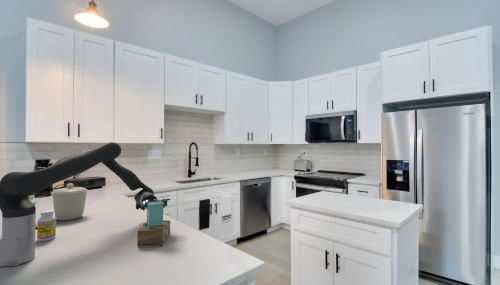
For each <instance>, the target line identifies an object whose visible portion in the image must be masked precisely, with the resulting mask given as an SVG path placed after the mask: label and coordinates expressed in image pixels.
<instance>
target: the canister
mask: <svg viewBox="0 0 500 285" xmlns="http://www.w3.org/2000/svg"><path fill="white" fill-rule="evenodd" d="M88 191H89V189H87V188H85V187H83V186H82V187H81V186H75V185H74V183H71V182H70V183H67V184H66V187H62V188H57V189H55V190H53V191H51V192H50V194H51V195H52V203H53V204H52V205H53V211H54V216H55V217H56V221H57V220H58V221H71V220H72V221H73V220H76V219H78V218H79V219H80V218H81V217H83V215H84V212H85V206H86V199H87V192H88Z"/></svg>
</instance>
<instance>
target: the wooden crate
mask: <svg viewBox="0 0 500 285" xmlns="http://www.w3.org/2000/svg"><path fill="white" fill-rule="evenodd" d="M170 236H171V220H164V219H163V226H159V227H153V228H149V227H148V226H147V222H146V223H145V224H143V225H142V226H141V227H140V228H139V229H138V230H137V239H136V241H137V243H136V246H137V248H154V247H153V246H160V247H163V246H164V244H165V242H166V241H167V239H168V238H169V237H170Z"/></svg>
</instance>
